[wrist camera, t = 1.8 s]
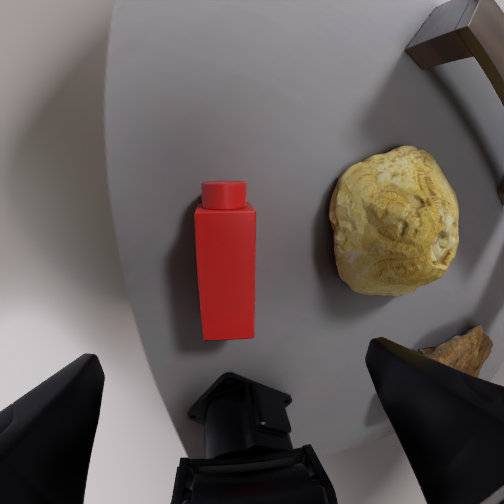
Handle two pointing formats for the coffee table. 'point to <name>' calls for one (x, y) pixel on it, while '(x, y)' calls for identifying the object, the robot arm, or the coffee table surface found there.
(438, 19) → the shelf
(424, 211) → the fossil
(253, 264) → the red square bottle
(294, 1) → the coffee table surface
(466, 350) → the decorative rock
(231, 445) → the robot arm
